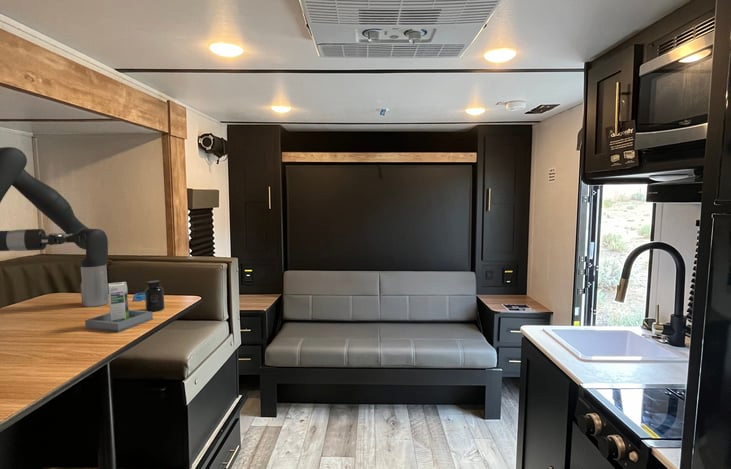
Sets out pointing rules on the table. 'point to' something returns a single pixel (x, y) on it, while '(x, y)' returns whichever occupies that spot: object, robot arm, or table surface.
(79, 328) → the table surface
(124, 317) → the syrup box
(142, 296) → the handheld gaming device
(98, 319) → the tray
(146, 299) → the supplement bottle
